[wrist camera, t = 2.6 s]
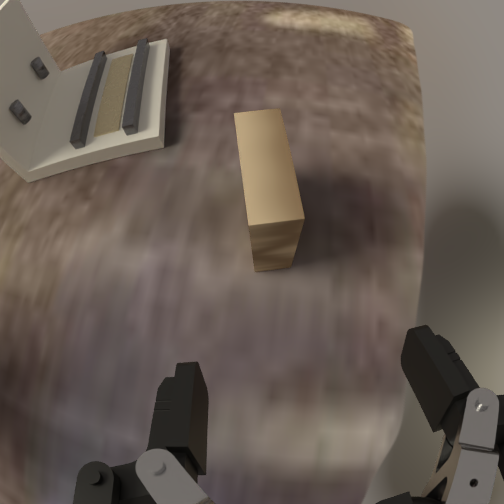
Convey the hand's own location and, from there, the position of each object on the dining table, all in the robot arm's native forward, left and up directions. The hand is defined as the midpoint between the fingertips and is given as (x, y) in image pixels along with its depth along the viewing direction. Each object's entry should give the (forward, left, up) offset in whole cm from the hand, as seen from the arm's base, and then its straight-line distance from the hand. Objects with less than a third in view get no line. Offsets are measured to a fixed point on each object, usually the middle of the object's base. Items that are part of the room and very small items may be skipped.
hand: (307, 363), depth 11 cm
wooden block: (0, +11, -14) cm, 18 cm away
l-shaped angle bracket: (-18, +30, -14) cm, 38 cm away
